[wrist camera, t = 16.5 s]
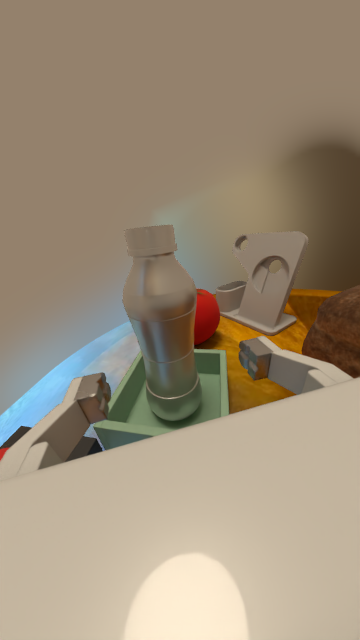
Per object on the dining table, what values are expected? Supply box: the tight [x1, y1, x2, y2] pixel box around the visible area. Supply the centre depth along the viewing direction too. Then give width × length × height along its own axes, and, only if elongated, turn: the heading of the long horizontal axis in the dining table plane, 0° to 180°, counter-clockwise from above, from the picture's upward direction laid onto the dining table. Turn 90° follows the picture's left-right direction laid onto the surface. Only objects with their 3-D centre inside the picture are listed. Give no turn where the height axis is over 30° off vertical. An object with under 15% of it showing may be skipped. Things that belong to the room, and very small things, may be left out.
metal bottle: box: [123, 225, 202, 421], centre depth 18 cm, size 6×7×20 cm
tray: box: [93, 349, 229, 450], centre depth 22 cm, size 13×13×5 cm
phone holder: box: [216, 231, 308, 336], centre depth 39 cm, size 17×10×18 cm, turn 33°
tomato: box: [194, 289, 220, 345], centre depth 34 cm, size 10×11×11 cm
